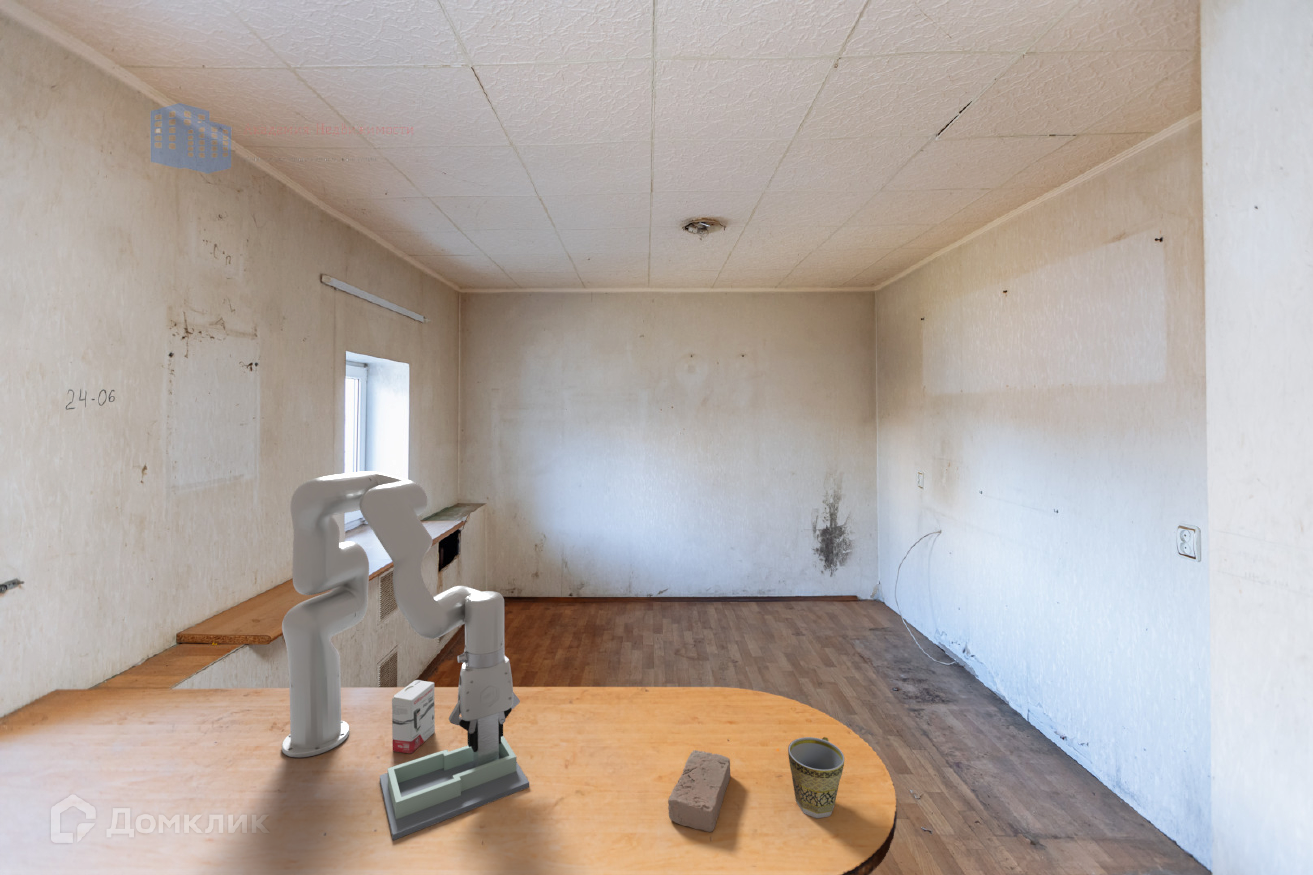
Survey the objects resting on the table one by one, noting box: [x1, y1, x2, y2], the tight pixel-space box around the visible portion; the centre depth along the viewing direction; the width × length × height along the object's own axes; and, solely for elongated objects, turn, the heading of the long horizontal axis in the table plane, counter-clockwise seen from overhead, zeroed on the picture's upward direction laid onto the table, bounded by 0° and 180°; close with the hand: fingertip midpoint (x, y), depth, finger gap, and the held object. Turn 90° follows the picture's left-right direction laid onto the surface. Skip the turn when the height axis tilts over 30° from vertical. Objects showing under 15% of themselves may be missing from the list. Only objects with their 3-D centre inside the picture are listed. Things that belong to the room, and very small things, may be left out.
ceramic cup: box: [787, 736, 845, 819], centre depth 101 cm, size 13×10×10 cm
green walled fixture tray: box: [379, 735, 530, 841], centre depth 105 cm, size 18×24×4 cm
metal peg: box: [473, 713, 499, 768], centre depth 109 cm, size 4×4×12 cm
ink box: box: [391, 679, 436, 754], centre depth 119 cm, size 9×5×12 cm, turn 168°
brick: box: [667, 749, 731, 833], centre depth 102 cm, size 17×8×5 cm, turn 161°
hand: (485, 743), depth 109 cm, fingers closed on metal peg, 4 cm apart
